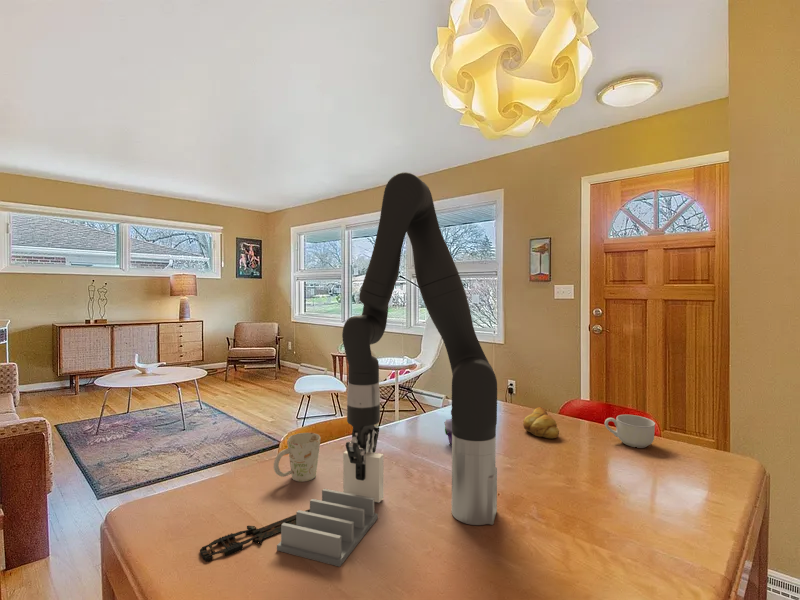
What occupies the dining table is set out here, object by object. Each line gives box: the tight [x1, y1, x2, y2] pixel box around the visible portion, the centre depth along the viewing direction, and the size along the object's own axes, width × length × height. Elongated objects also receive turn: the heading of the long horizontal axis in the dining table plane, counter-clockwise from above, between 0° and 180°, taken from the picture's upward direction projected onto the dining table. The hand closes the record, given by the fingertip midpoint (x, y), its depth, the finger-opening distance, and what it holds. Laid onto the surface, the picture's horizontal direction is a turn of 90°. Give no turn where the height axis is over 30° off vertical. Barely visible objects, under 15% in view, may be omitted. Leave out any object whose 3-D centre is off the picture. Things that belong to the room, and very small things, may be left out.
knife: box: [199, 508, 310, 563], centre depth 81 cm, size 25×6×1 cm, turn 126°
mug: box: [273, 432, 321, 483], centre depth 105 cm, size 8×13×10 cm, turn 137°
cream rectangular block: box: [342, 450, 385, 503], centre depth 95 cm, size 2×9×10 cm, turn 70°
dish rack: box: [276, 488, 378, 568], centre depth 81 cm, size 16×13×4 cm
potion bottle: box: [444, 409, 452, 446], centre depth 130 cm, size 9×9×12 cm
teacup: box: [604, 414, 656, 449], centre depth 131 cm, size 14×11×8 cm
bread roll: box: [522, 406, 560, 439], centre depth 139 cm, size 13×10×8 cm
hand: (363, 476), depth 95 cm, fingers closed on cream rectangular block, 2 cm apart
